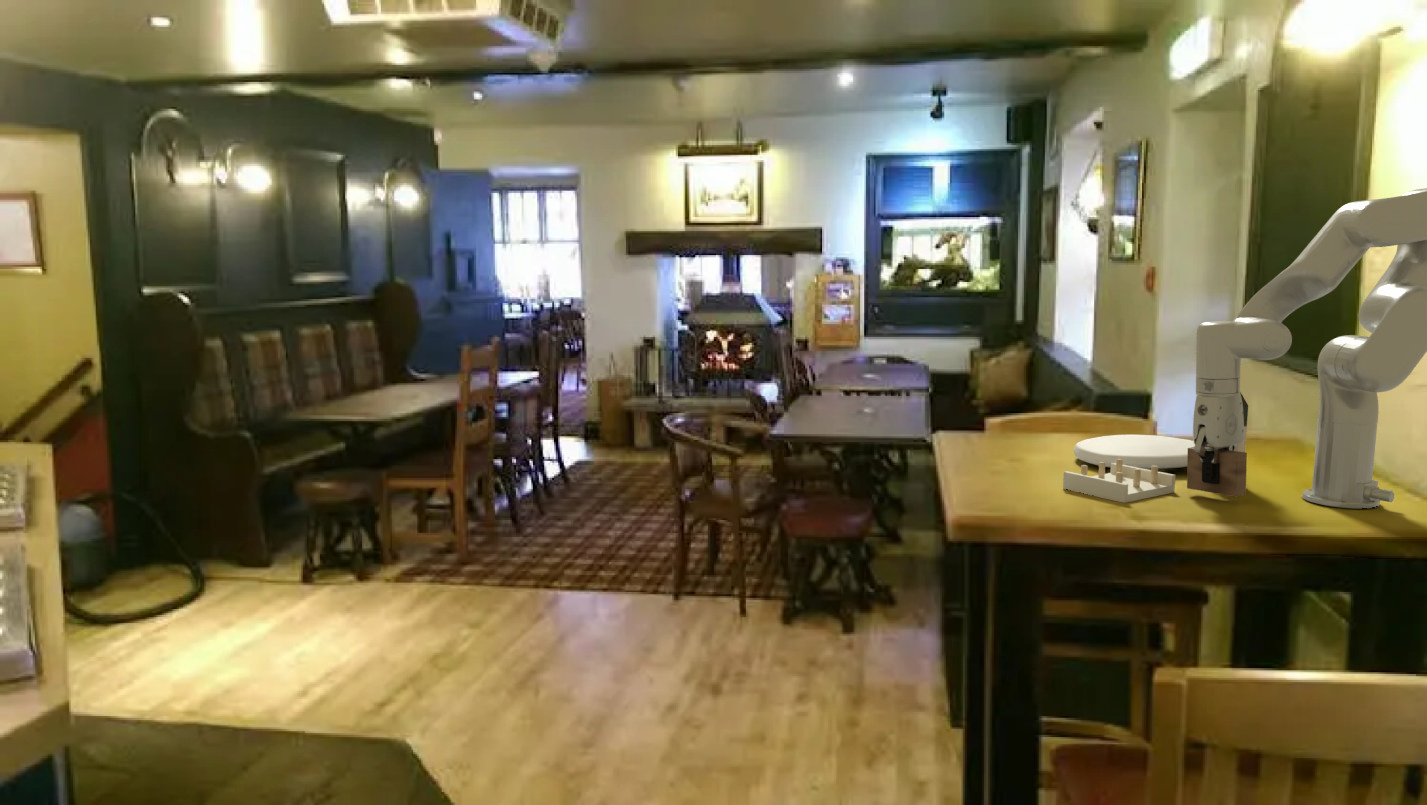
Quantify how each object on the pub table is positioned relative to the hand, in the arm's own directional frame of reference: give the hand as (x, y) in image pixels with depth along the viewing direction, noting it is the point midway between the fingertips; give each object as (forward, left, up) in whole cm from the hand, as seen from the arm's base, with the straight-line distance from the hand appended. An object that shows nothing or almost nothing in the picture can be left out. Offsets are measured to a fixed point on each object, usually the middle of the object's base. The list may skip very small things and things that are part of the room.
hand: (1216, 480), depth 194 cm
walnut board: (0, 0, -2) cm, 2 cm away
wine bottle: (+7, -13, -4) cm, 15 cm away
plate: (+29, -18, -4) cm, 34 cm away
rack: (+15, +9, -4) cm, 18 cm away
